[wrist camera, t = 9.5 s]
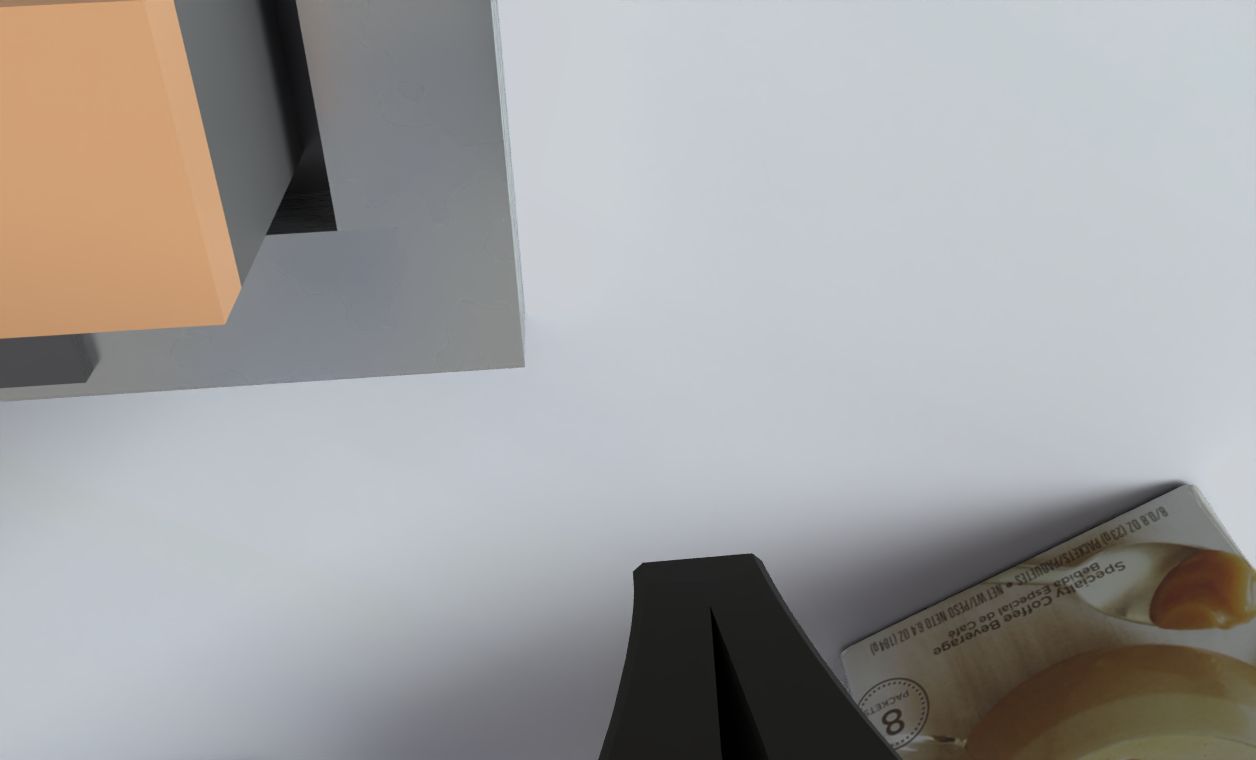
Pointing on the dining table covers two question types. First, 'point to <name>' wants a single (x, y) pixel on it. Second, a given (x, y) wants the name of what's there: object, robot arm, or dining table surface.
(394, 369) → the socket plate
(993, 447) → the dining table surface
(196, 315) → the plug
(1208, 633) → the coffee box
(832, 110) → the dining table surface
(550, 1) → the dining table surface
